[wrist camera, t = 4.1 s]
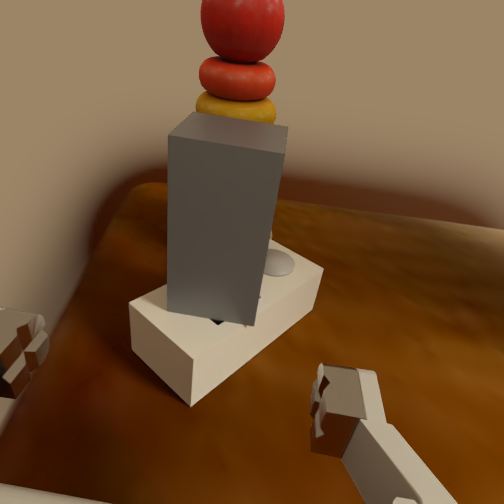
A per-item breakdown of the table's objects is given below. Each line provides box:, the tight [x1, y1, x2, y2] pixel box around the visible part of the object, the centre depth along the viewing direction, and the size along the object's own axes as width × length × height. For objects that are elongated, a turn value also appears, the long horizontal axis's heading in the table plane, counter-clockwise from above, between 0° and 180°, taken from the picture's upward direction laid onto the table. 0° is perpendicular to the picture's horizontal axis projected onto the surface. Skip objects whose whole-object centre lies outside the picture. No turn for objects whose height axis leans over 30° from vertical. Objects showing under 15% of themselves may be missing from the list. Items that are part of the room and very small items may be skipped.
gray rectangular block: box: [167, 112, 288, 326], centre depth 19 cm, size 4×4×11 cm
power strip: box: [129, 239, 324, 407], centre depth 23 cm, size 11×5×4 cm, turn 138°
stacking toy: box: [196, 0, 285, 240], centre depth 27 cm, size 8×8×19 cm
